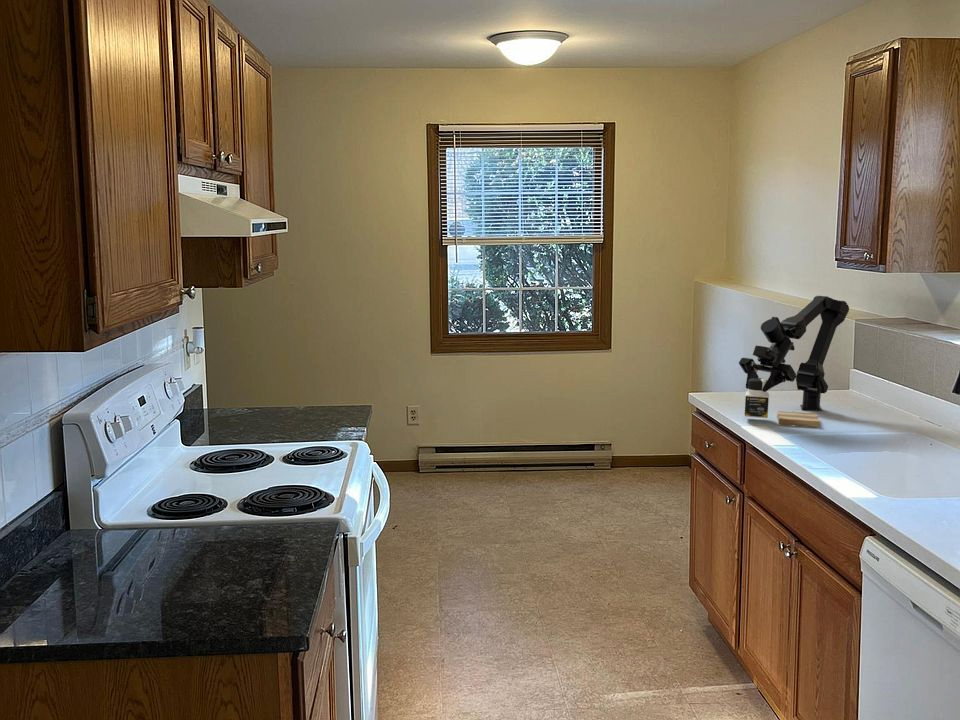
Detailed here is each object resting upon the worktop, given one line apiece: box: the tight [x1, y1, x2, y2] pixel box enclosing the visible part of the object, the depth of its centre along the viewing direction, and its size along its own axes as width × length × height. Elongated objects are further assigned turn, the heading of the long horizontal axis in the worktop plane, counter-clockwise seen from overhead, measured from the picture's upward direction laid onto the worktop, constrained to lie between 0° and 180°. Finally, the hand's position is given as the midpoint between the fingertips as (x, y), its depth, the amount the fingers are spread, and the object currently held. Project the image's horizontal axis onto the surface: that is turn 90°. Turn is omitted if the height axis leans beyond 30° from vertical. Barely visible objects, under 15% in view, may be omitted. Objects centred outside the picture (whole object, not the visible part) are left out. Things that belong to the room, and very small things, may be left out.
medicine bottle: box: [744, 377, 770, 419], centre depth 307 cm, size 7×7×12 cm
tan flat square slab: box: [776, 410, 820, 428], centre depth 306 cm, size 12×12×2 cm
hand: (754, 389), depth 306 cm, fingers closed on medicine bottle, 6 cm apart
